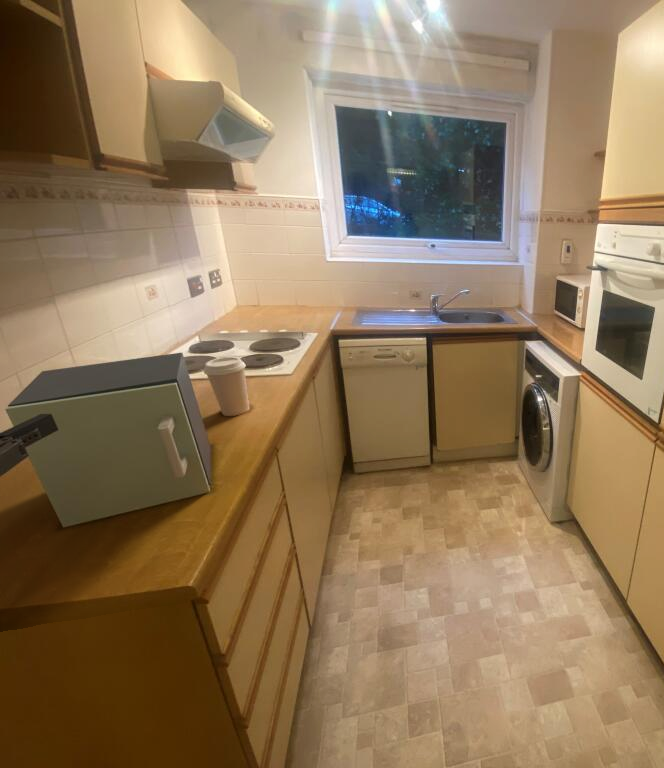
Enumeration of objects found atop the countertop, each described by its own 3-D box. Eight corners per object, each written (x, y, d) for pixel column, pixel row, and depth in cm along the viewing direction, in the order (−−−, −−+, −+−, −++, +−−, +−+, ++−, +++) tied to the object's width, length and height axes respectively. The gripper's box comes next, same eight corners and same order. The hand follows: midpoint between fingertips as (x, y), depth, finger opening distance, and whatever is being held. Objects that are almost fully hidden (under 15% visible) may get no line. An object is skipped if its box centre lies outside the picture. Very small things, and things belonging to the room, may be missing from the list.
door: (207, 509, 82) (170, 396, 73) (50, 550, 72) (-15, 424, 63) (210, 490, 88) (176, 382, 79) (65, 525, 78) (7, 406, 69)
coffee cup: (261, 403, 126) (249, 354, 120) (248, 418, 117) (235, 366, 112) (225, 406, 124) (211, 356, 119) (209, 421, 116) (194, 368, 110)
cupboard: (210, 486, 89) (177, 378, 80) (65, 525, 78) (7, 405, 69) (211, 447, 103) (182, 352, 94) (88, 476, 92) (42, 371, 83)
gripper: (-224, 565, 43) (14, 444, 65) (-86, 561, 44) (104, 443, 66) (-276, 504, 41) (-9, 399, 62) (-127, 501, 41) (86, 398, 63)
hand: (49, 422), depth 64 cm, fingers closed
